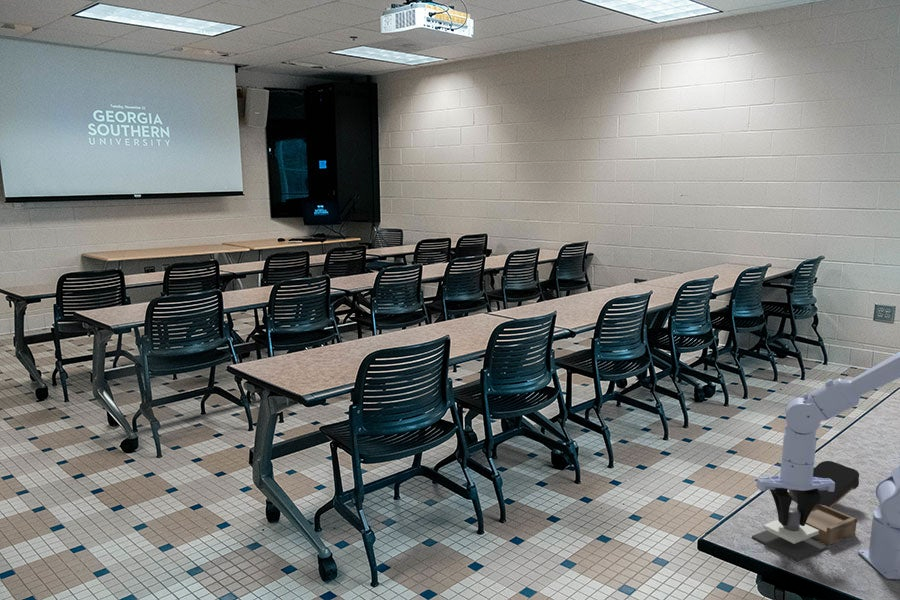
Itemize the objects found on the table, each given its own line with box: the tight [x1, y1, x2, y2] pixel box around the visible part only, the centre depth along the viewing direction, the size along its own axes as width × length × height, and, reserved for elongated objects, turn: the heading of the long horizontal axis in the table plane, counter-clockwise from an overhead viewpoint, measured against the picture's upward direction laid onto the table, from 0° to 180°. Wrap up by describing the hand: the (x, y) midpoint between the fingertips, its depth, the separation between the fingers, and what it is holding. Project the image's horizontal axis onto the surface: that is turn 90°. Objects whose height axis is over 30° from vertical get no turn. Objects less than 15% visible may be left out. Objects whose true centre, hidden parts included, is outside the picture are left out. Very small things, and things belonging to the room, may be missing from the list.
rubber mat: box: [751, 530, 830, 562], centre depth 138 cm, size 10×10×1 cm
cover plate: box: [762, 507, 819, 544], centre depth 137 cm, size 8×7×4 cm
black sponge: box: [788, 460, 860, 508], centre depth 153 cm, size 16×8×4 cm, turn 123°
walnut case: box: [794, 504, 858, 546], centre depth 143 cm, size 9×9×4 cm
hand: (791, 523), depth 137 cm, fingers closed on cover plate, 3 cm apart
